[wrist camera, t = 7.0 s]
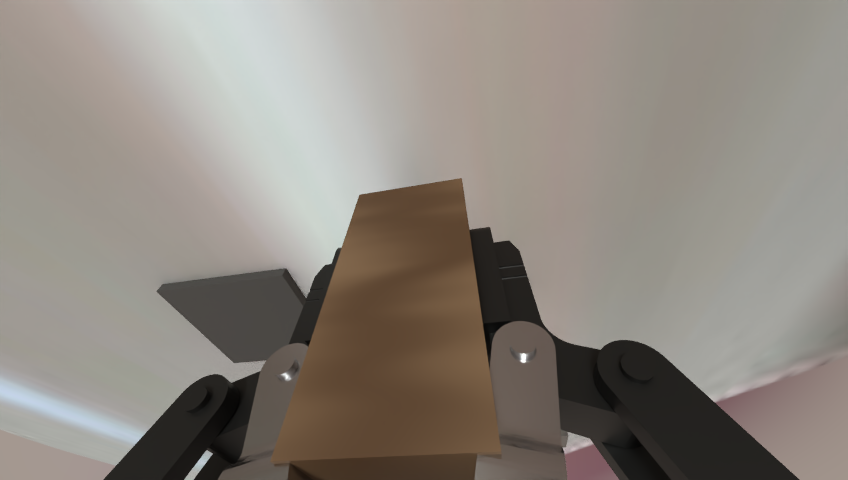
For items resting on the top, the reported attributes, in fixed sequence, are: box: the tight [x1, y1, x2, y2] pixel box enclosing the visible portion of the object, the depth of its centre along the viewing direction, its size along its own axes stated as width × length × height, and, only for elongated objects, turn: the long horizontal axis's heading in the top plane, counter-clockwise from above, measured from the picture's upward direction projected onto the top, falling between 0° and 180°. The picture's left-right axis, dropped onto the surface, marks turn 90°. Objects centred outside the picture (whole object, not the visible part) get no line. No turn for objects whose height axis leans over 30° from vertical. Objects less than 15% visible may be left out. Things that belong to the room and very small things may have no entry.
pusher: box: [270, 178, 501, 480], centre depth 9 cm, size 4×4×8 cm
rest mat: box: [156, 269, 306, 363], centre depth 23 cm, size 9×9×1 cm
